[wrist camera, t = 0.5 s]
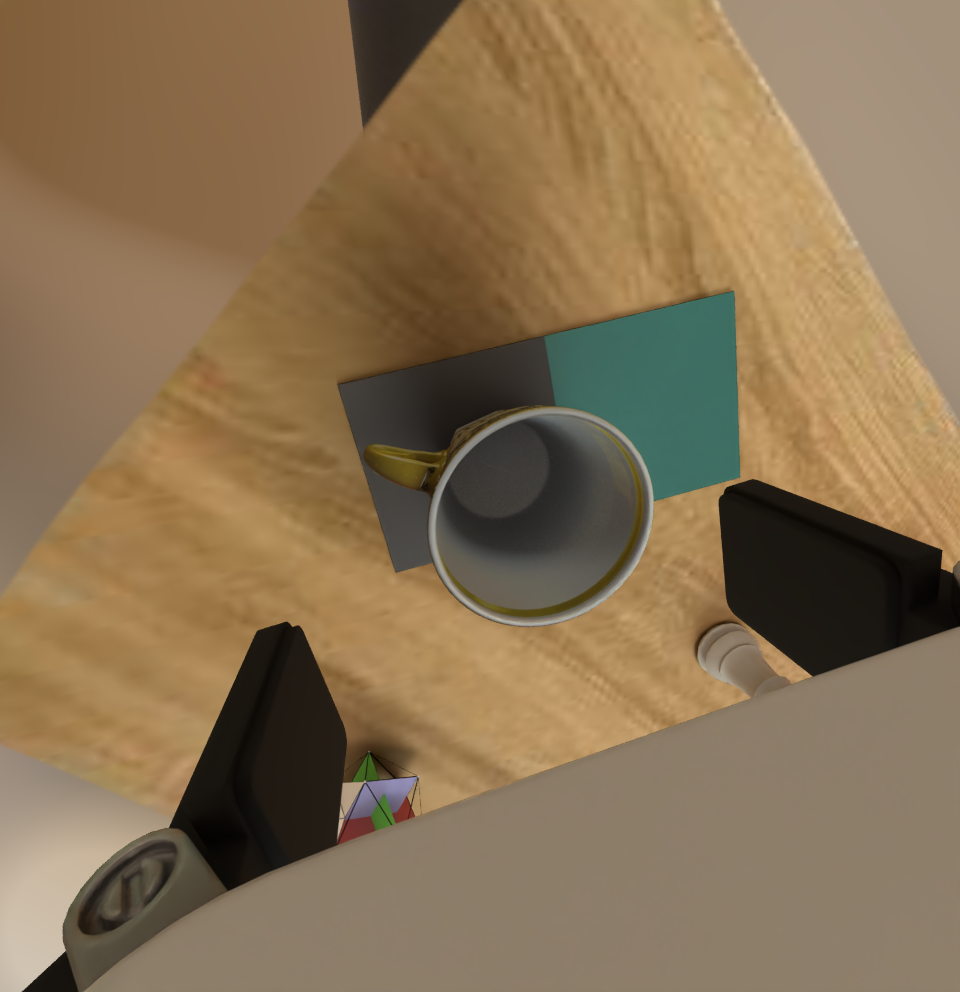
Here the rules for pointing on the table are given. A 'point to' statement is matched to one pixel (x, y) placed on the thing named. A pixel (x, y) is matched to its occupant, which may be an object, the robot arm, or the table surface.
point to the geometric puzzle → (373, 802)
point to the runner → (567, 402)
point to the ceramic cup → (530, 511)
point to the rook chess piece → (737, 660)
